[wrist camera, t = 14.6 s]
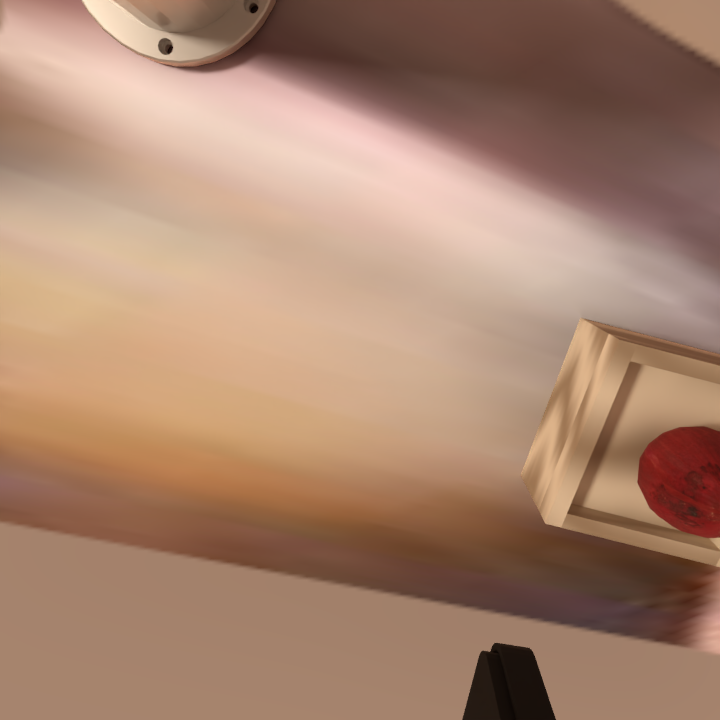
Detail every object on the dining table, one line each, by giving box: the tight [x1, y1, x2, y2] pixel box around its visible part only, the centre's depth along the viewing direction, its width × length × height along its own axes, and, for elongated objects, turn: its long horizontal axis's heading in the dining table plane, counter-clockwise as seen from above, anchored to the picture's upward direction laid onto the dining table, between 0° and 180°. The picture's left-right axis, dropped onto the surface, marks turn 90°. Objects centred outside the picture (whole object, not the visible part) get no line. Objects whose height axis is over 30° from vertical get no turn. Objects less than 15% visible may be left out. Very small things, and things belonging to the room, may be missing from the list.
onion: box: [637, 426, 720, 538], centre depth 29 cm, size 6×6×8 cm
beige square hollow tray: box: [521, 318, 720, 567], centre depth 34 cm, size 12×12×6 cm
